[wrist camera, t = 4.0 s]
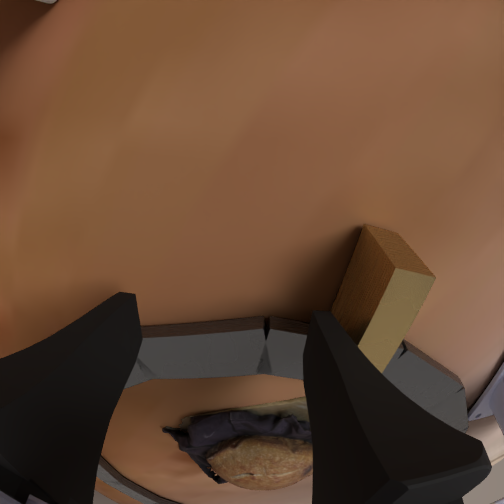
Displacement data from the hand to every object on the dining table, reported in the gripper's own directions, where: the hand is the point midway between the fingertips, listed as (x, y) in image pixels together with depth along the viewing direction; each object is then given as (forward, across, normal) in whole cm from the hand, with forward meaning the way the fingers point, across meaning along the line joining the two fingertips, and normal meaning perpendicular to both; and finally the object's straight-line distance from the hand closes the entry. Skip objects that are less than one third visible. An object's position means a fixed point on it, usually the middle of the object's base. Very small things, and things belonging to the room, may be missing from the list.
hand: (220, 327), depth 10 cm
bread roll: (+3, -2, +11) cm, 12 cm away
